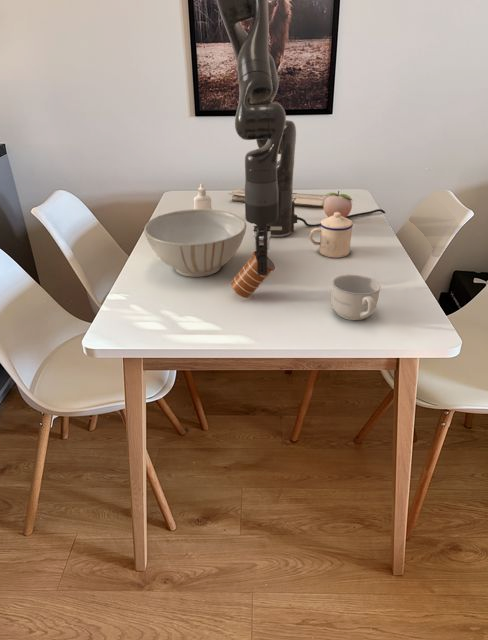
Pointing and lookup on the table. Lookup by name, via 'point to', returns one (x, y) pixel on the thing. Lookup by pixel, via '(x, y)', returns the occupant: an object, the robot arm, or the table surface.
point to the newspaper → (296, 197)
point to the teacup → (354, 296)
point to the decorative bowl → (195, 239)
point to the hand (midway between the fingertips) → (262, 267)
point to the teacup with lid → (334, 236)
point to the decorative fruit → (337, 204)
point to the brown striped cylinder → (250, 276)
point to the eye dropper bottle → (202, 199)
